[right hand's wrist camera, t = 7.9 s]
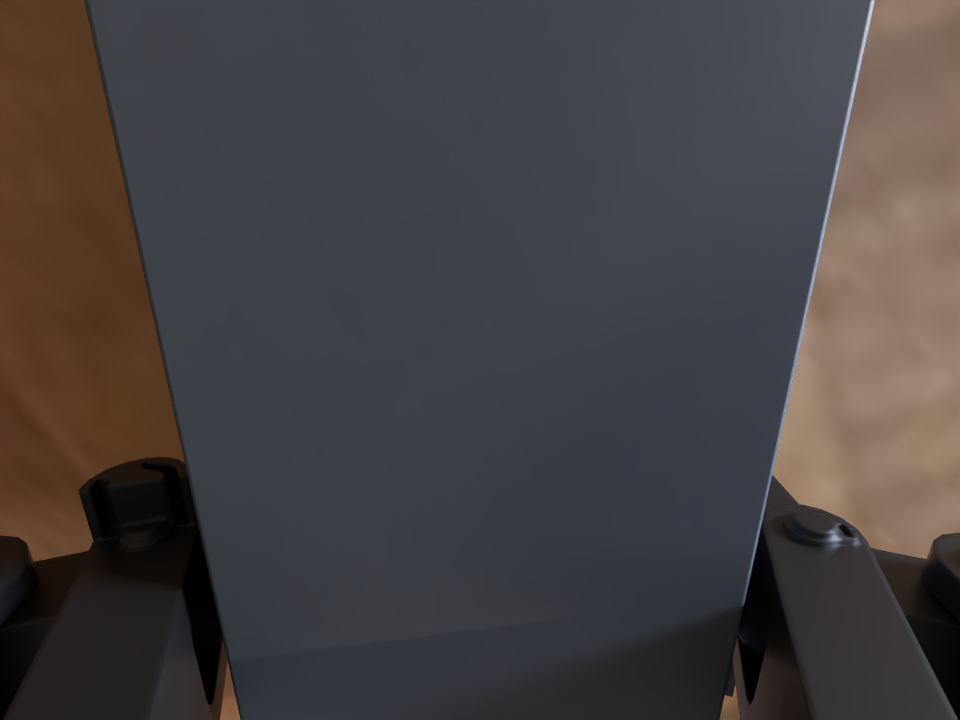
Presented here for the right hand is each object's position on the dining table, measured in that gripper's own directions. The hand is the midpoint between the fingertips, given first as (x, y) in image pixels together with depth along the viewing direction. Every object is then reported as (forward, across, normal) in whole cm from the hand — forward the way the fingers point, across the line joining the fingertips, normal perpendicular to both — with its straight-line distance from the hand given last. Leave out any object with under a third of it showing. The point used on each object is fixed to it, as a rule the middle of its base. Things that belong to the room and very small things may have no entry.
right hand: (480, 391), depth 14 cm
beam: (0, 0, -34) cm, 34 cm away
